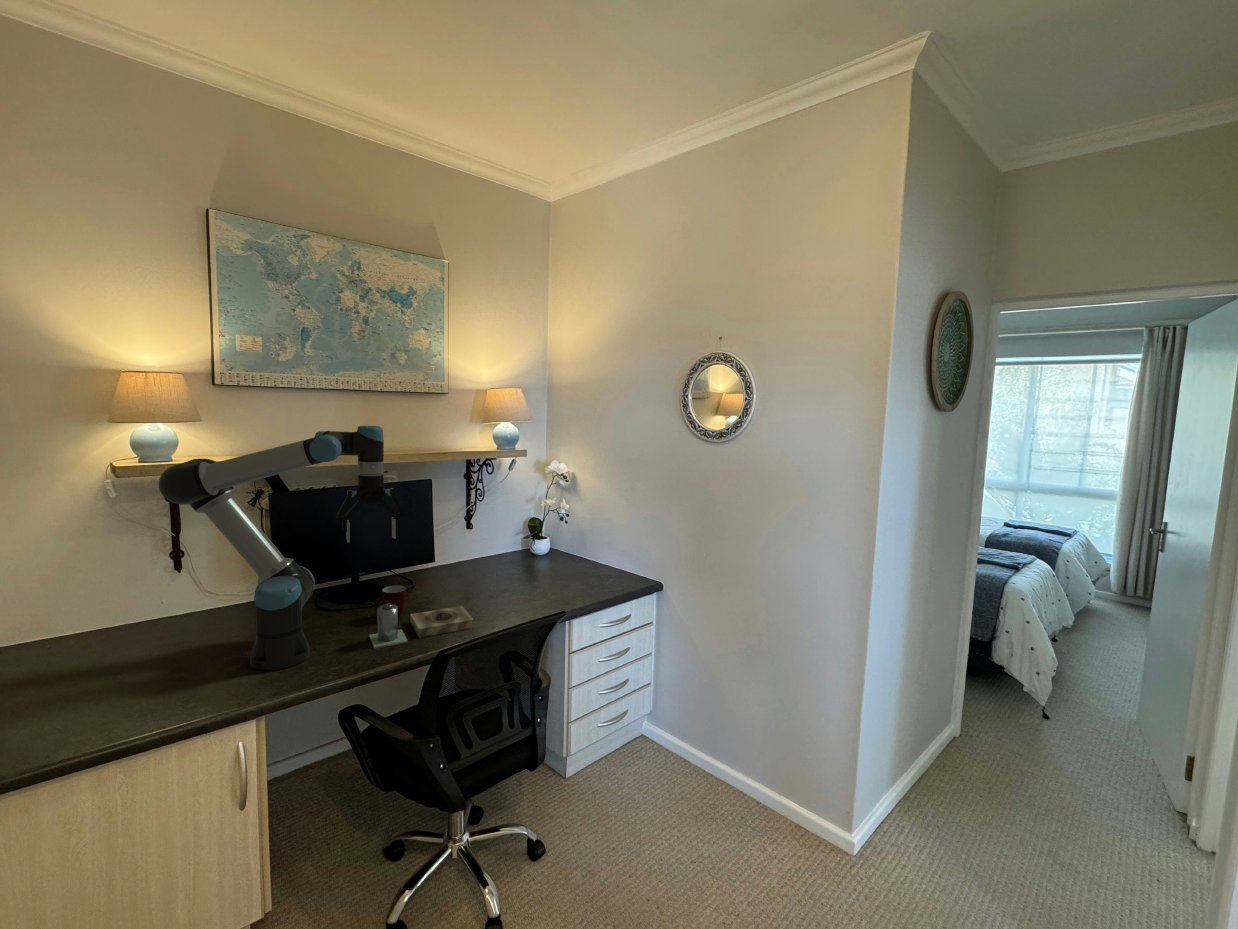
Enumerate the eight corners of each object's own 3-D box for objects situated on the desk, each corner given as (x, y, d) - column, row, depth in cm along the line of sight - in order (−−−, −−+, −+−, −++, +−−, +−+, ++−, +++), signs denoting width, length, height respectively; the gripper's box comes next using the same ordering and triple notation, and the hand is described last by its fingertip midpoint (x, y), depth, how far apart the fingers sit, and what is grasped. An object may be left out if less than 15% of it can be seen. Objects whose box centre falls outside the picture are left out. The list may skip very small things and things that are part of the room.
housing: (419, 637, 188) (419, 629, 188) (410, 622, 200) (410, 614, 199) (473, 627, 197) (473, 619, 197) (461, 613, 209) (461, 605, 209)
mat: (374, 648, 179) (374, 646, 179) (369, 636, 187) (369, 634, 187) (407, 642, 184) (407, 640, 184) (401, 631, 193) (401, 629, 193)
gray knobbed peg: (379, 643, 182) (378, 610, 180) (376, 635, 187) (375, 603, 185) (399, 639, 185) (399, 606, 183) (396, 632, 190) (395, 600, 188)
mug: (378, 623, 198) (377, 595, 196) (372, 616, 204) (371, 589, 203) (409, 617, 204) (409, 590, 203) (402, 610, 210) (402, 583, 209)
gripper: (327, 477, 174) (328, 545, 176) (414, 474, 186) (413, 539, 188) (326, 473, 180) (327, 539, 183) (410, 471, 192) (409, 533, 195)
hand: (371, 539), depth 186 cm, fingers open, 13 cm apart
